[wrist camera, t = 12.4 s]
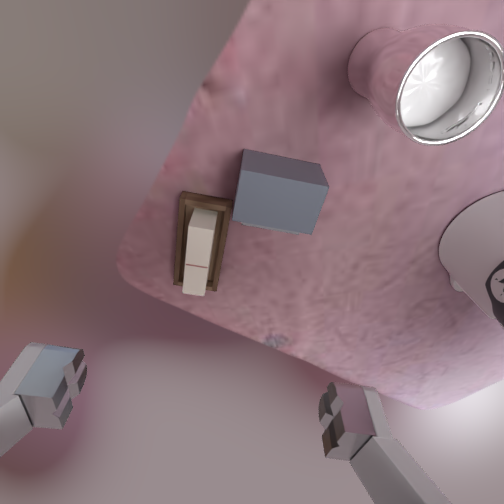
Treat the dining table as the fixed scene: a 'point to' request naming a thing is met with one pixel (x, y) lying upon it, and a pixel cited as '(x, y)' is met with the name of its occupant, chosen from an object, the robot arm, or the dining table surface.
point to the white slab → (199, 251)
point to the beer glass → (429, 79)
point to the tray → (224, 210)
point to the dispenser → (279, 193)
